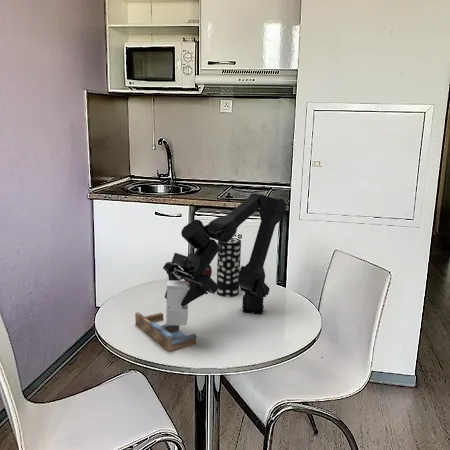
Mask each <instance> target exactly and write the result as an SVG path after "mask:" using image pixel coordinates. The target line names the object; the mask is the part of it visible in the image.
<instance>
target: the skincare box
mask: <svg viewBox="0 0 450 450" xmlns="http://www.w3.org/2000/svg"><path fill="white" fill-rule="evenodd" d="M189 284H190V283H189V281H185V280H180V281H170V280H169V279H168V281H167V284H166V290H167V299H166V310H165V312H166V315H165V316H166V317H165V318H166V319H165V324H166V325H179V326H183V327H184V326H187V324H188V317H189V316H188V313H189V304H187V305H185V306H184V307H183V306H181V303H182V301H183V299H184V297H185V295H186V294H187V292H188V290H189V288H190V287H189V286H190V285H189Z"/></svg>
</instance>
